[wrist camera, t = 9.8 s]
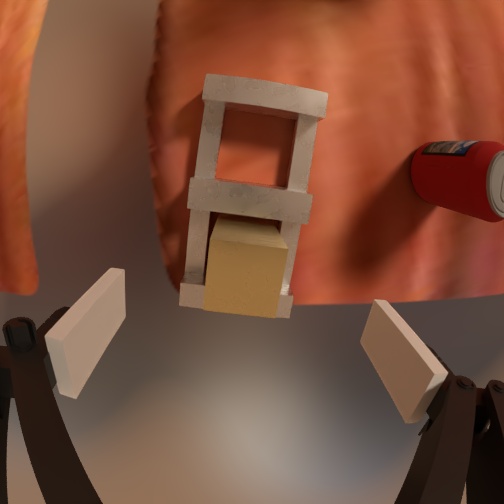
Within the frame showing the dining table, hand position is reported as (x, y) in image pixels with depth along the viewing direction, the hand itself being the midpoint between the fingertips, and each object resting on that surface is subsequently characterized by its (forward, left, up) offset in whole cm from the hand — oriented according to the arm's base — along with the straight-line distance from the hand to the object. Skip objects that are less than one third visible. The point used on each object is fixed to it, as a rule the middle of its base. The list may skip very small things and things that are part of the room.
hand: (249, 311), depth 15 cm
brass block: (0, 0, -15) cm, 15 cm away
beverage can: (-10, +19, -15) cm, 26 cm away
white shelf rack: (-4, 0, -15) cm, 16 cm away
